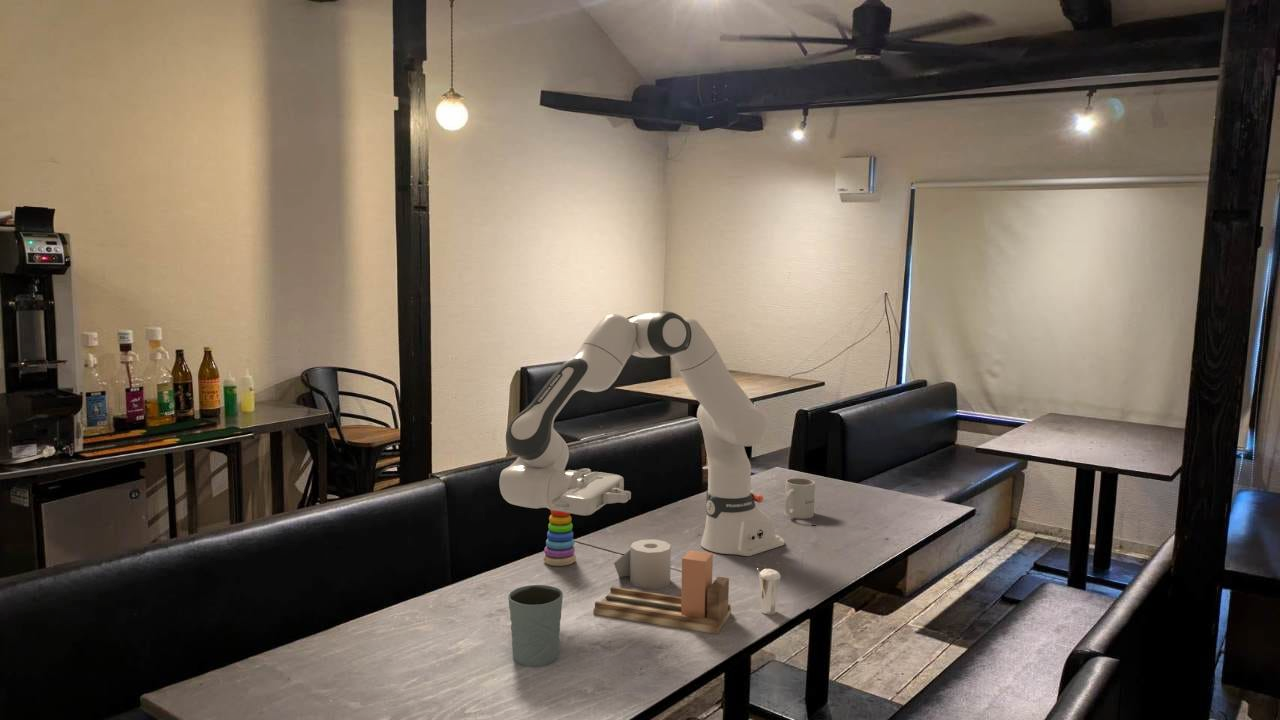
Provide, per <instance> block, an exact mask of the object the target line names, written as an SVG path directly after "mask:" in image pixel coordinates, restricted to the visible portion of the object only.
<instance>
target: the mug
mask: <svg viewBox="0 0 1280 720" xmlns="http://www.w3.org/2000/svg"><path fill="white" fill-rule="evenodd" d="M784 486H785V487H784V488H785V489H784V491H785V492H784V515H785V516H786V517H789V518H792V519H798V520H799V519H801V520H802V519H810V518H813V517H814V515H815V514H814V513H815V492H816V491H815V487H816V482H815V481H814V480H812V479H810V478H809V479H808V478H804V477H791V478H790V477H789V478H787V479H786V480H785V485H784Z"/></svg>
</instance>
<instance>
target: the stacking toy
mask: <svg viewBox="0 0 1280 720" xmlns="http://www.w3.org/2000/svg"><path fill="white" fill-rule="evenodd" d="M570 514H571V513H566V512H563V511H555V510H550V515H549V517H548V520H549V523H548V525H547V526H548V527H547V528H548V531H547V533H546V537H547V539H546V540H545V545H546V546H545V547H544V548H543V549H544V550H543V552H544V554H543V562H545V564H547V565H550V566H552V567H553V566H554V567H565V566H570V565H572V564H573V563H575V561H576V558H577V555H576V554H575V546H574V545H575V540H574V538H573V537H574V531H573V527H574V526H573V523H572V516H571V515H570Z"/></svg>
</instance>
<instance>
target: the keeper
mask: <svg viewBox="0 0 1280 720" xmlns="http://www.w3.org/2000/svg"><path fill="white" fill-rule="evenodd" d="M713 555H714V552H706V551H699V550H691V549H690V550H688V551H687V552H686V554H685V555H684V556H683V557H682V558H681V590H680V591H681V596H680V597H681V615H687V616H693V617H700V618H705V617H706V611H707V596H708V589H709V588H710V586H711V585H712V584H713V557H714V556H713Z"/></svg>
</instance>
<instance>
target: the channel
mask: <svg viewBox="0 0 1280 720" xmlns="http://www.w3.org/2000/svg"><path fill="white" fill-rule="evenodd" d="M729 580H730V578H729V577H724V576H717V577H716V578H715V579H714V581H712V585H711V586H710V588H709V589H708V596H707V615H706V617H705V618H700V617H693V616H687V615H681V611H677V610H670V609H664V608H658V607H651V606H645V605H638V604H632V603H626V602H619V601H613V600H607V599H606V596H604V598H603V599H602V600H601V601H597V600H596V601H595V602H594V608H593V615H598V616H605V617H610V618H611V617H612V618H617V619H623V620H627V621H628V620H629V621H636V622H641V623H645V624H646V623H647V624H653V625H659V626H664V627H665V626H666V627H672V628H677V629H685V630H688V631H695V632H702V633H709V634H715V635H718V634H719V633H720V632H721V630H722V628H723V627H724V625H725V623H727V621H728V619H729V617H730V615H731V614H732V607H731V604H729V587H730V586H729V585H730V584H729V583H730V581H729ZM607 595H609V596H615V597H622V598H628V599H635V600H641V601H648V602H654V603H661V604H667V605H674V606H680V607H681V596H677V595H676V596H675V595H669V594H664V593H663V594H662V593H657V592H649V591H644V590H643V591H642V590H637V589H629V588H623V587H617V586H611V587H610V592H609V593H608V594H607Z"/></svg>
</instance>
